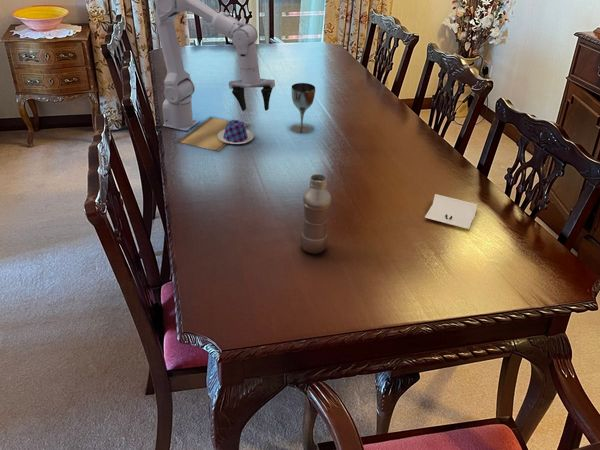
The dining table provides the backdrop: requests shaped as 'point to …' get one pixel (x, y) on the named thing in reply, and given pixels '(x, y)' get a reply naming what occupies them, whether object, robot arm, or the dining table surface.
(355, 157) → the dining table surface
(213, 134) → the placemat
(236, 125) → the pudding
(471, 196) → the dining table surface
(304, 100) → the wine glass
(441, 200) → the folded paper
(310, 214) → the plastic bottle
